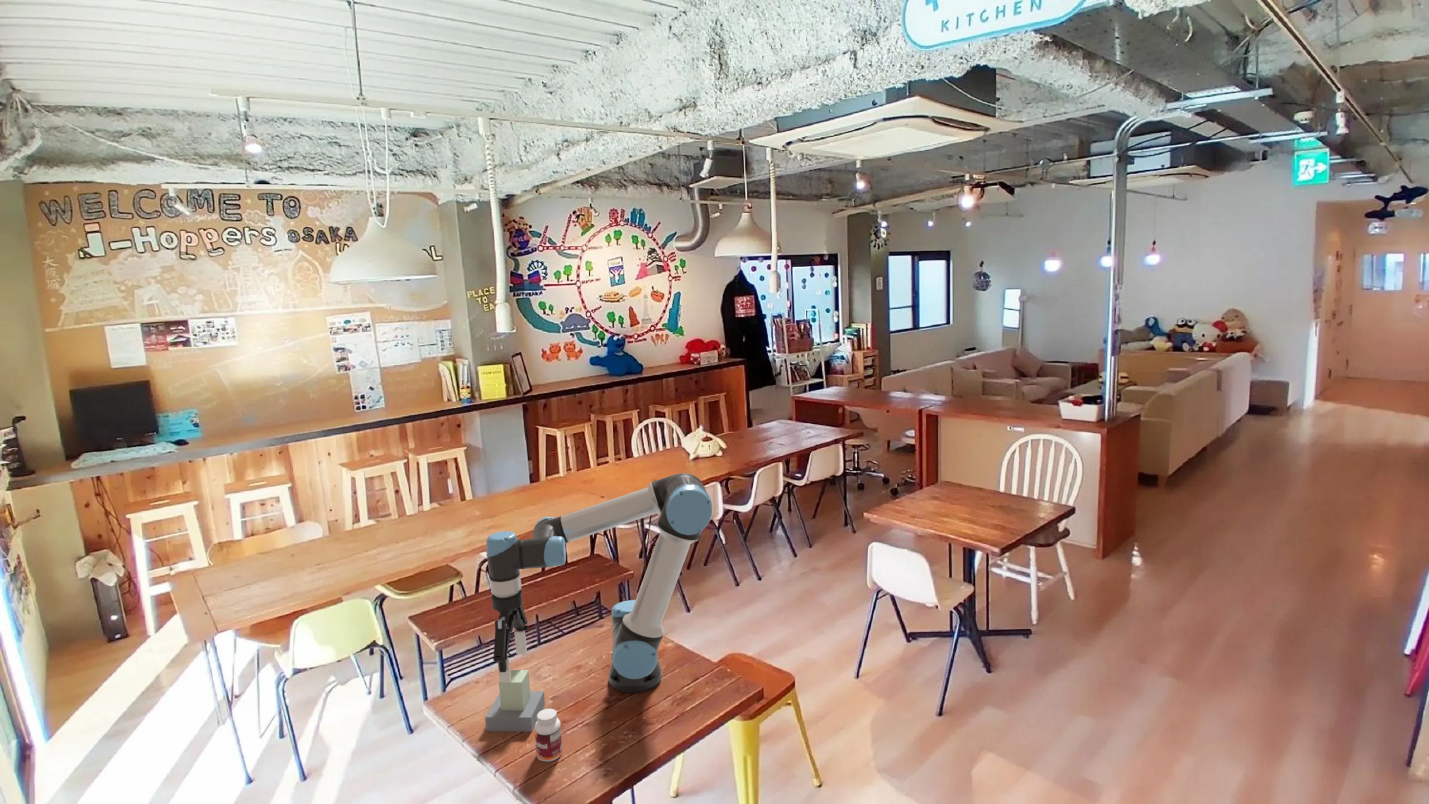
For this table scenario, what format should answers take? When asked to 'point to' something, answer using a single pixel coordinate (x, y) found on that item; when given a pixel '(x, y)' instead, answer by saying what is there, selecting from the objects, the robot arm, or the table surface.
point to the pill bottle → (548, 735)
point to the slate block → (515, 715)
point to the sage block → (515, 691)
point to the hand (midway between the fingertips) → (514, 667)
